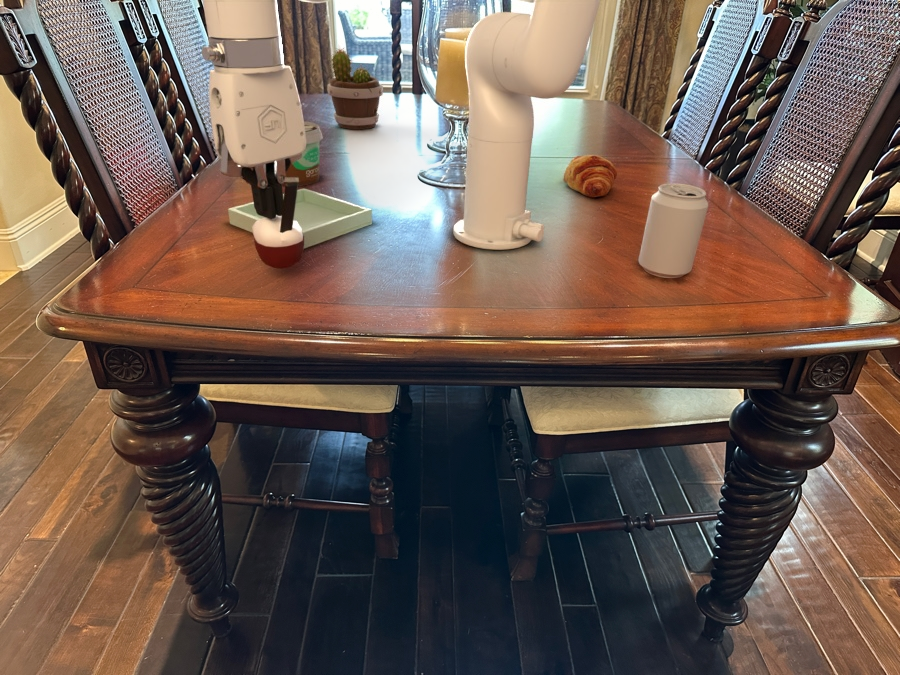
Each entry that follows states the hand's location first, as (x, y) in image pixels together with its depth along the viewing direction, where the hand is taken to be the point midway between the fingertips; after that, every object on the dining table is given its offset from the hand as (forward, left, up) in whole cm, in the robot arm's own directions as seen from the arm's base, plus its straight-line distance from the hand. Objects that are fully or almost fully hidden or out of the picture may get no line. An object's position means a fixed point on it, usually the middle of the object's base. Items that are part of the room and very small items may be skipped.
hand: (270, 214), depth 76 cm
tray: (+14, -16, -9) cm, 23 cm away
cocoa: (0, -1, -7) cm, 7 cm away
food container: (+32, -33, -9) cm, 47 cm away
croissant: (-11, -69, -9) cm, 70 cm away
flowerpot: (+62, -76, -9) cm, 98 cm away
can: (-38, -39, -9) cm, 55 cm away
